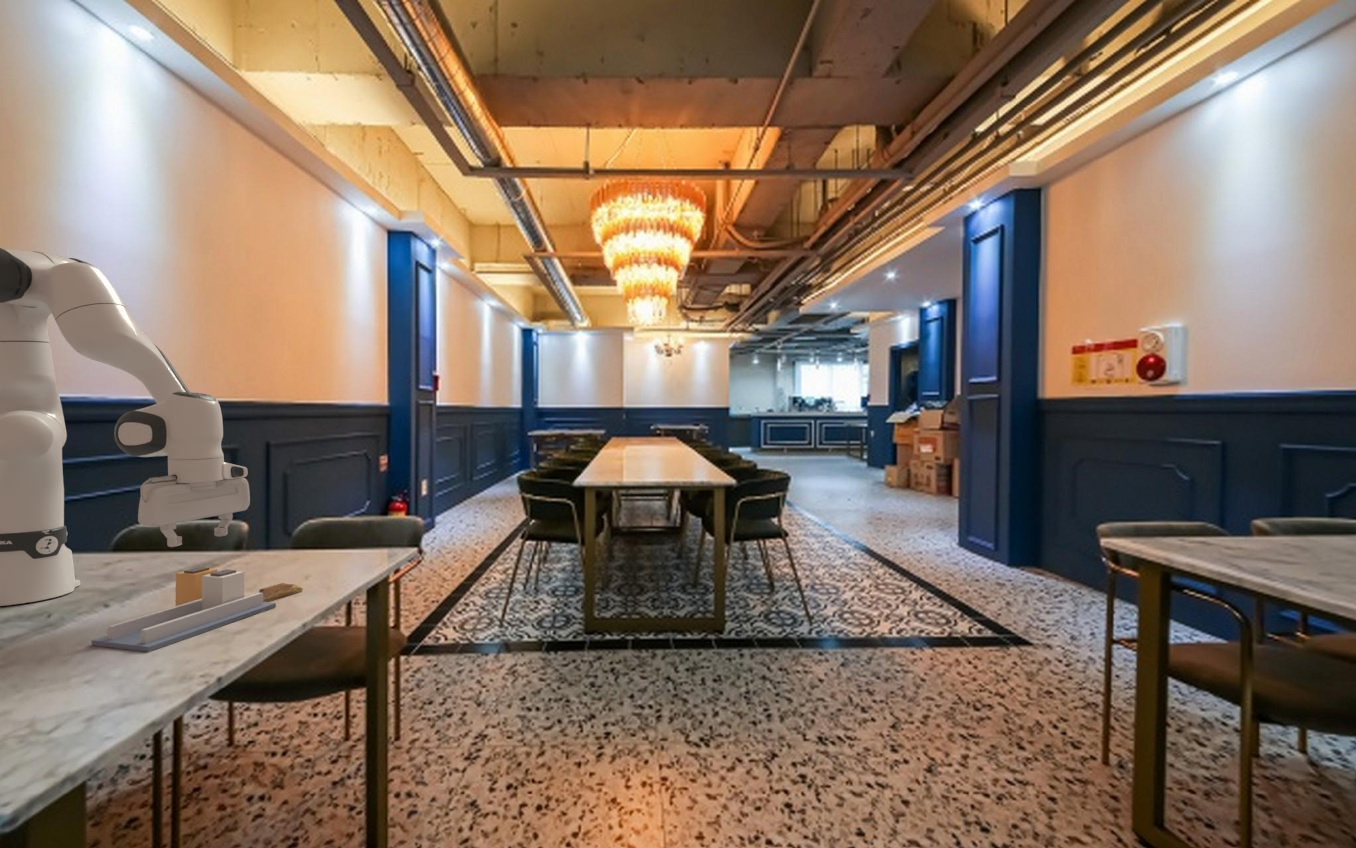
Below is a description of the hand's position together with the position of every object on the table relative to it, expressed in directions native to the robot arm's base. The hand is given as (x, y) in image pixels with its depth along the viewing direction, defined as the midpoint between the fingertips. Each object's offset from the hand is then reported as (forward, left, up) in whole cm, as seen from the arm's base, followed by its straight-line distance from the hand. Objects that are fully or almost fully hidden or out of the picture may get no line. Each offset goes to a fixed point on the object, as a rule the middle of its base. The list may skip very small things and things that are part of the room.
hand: (198, 540), depth 121 cm
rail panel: (+10, -9, -13) cm, 19 cm away
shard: (+10, +10, -14) cm, 20 cm away
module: (0, 0, -13) cm, 13 cm away
